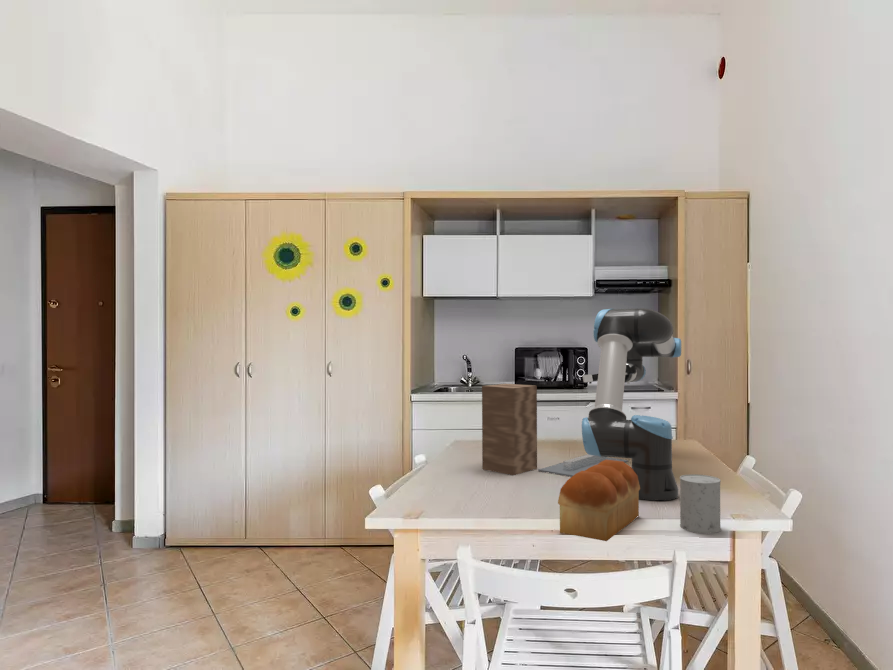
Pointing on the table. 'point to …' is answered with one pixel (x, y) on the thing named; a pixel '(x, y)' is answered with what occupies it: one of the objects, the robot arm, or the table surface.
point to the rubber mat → (559, 470)
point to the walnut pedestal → (509, 428)
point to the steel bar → (581, 462)
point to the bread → (599, 500)
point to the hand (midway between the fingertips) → (601, 375)
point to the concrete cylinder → (700, 503)
